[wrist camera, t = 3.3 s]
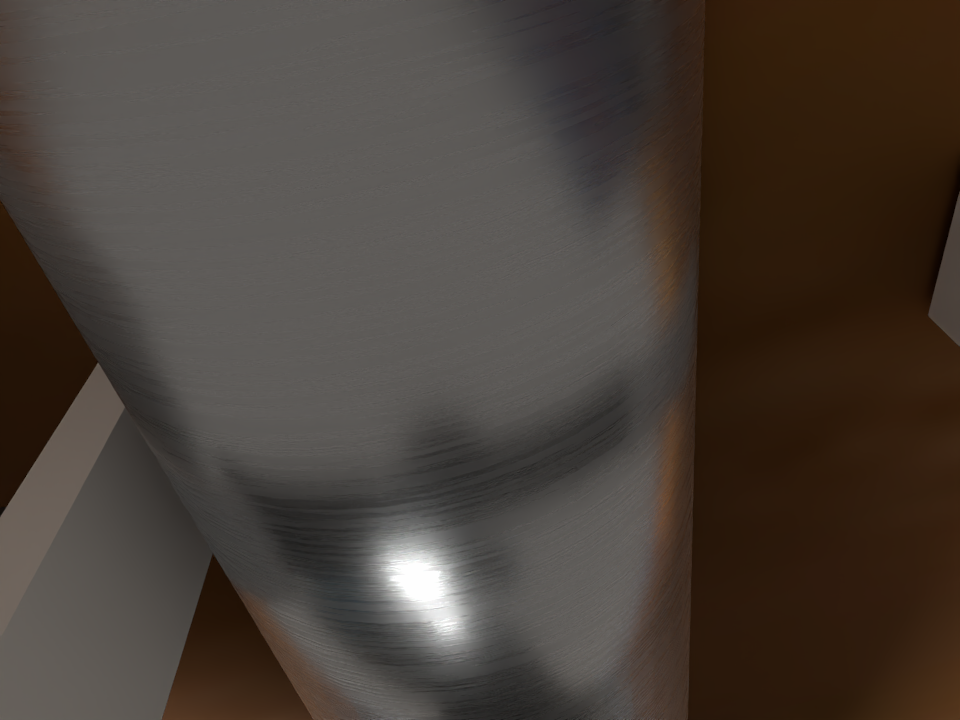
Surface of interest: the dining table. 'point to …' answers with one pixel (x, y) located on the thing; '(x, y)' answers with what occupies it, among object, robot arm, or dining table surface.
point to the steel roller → (395, 321)
